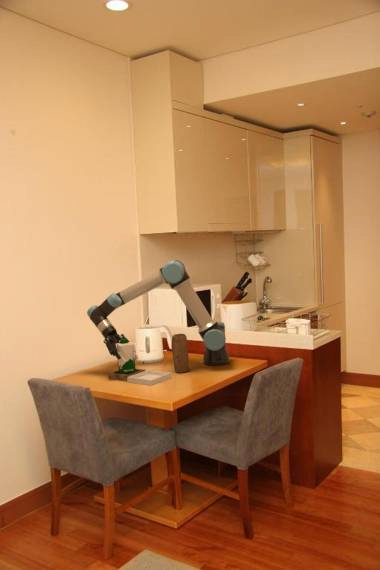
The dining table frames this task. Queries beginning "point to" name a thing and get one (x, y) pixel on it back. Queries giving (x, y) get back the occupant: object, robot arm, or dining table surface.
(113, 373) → the dark brown square tray
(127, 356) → the soya milk
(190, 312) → the robot arm
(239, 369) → the dining table surface
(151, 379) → the tray
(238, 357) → the dining table surface
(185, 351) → the block
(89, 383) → the dining table surface
